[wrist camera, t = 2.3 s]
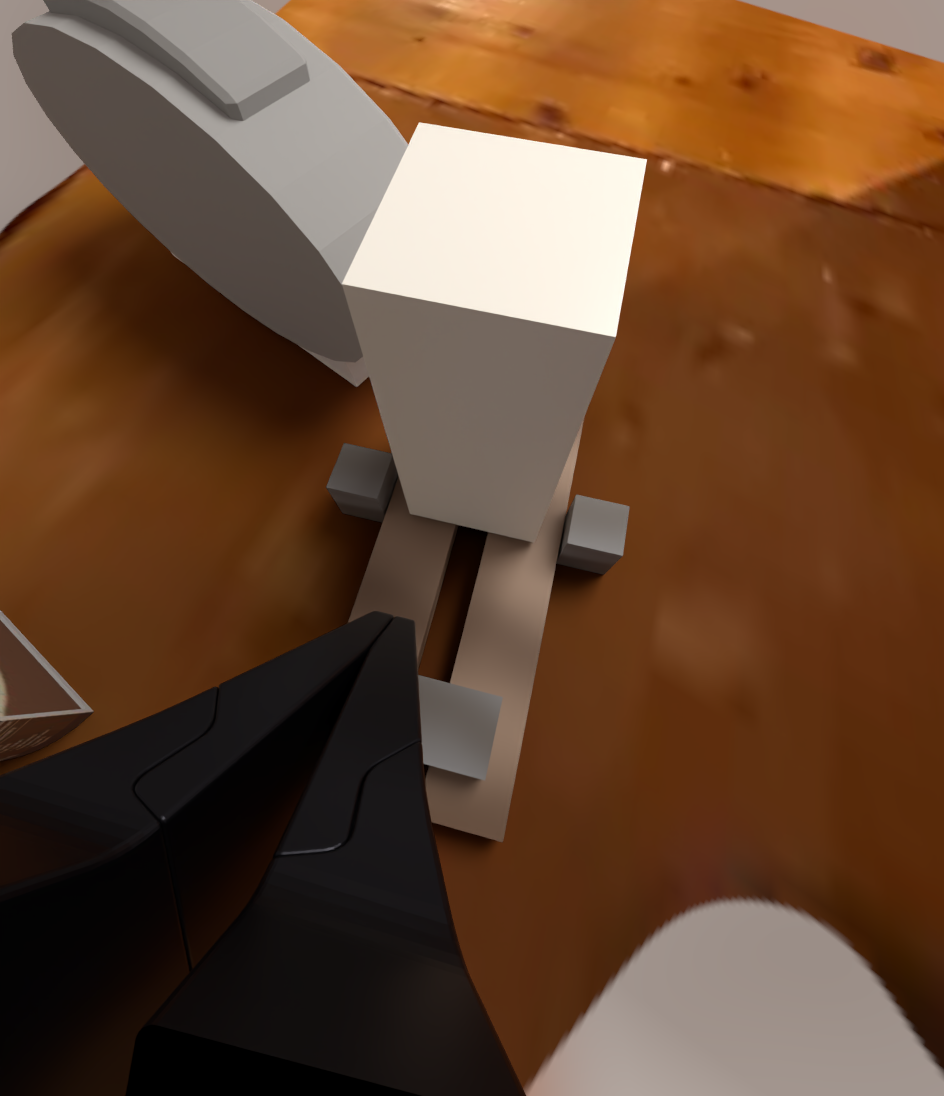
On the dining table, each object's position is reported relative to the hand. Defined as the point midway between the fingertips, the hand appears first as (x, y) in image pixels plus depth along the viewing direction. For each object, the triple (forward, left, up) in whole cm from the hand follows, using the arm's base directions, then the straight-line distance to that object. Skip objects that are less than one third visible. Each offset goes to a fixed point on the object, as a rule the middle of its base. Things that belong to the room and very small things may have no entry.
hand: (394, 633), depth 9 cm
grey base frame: (+6, -5, -12) cm, 14 cm away
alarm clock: (+25, -1, -12) cm, 28 cm away
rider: (+8, -6, -10) cm, 14 cm away
